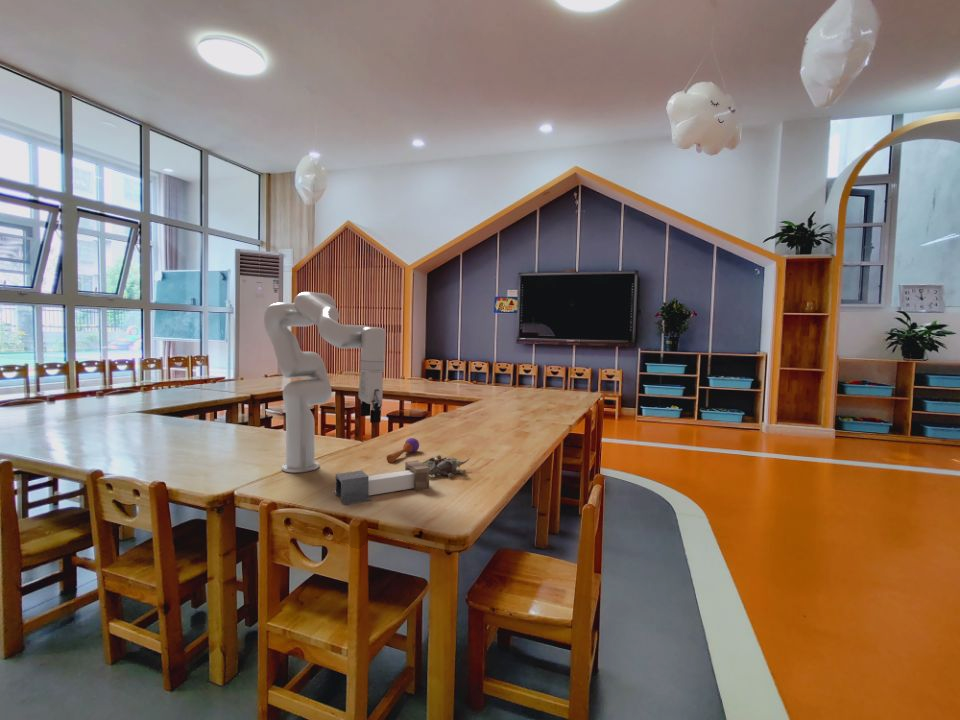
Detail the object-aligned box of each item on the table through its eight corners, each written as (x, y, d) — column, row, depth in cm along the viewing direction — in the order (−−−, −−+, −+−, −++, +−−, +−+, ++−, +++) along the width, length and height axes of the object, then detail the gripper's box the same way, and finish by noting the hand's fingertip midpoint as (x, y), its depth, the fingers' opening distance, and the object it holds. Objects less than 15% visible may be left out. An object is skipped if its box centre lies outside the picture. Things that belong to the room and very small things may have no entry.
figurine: (433, 468, 156) (403, 458, 168) (433, 486, 157) (404, 475, 169) (476, 454, 170) (446, 446, 182) (477, 471, 171) (446, 461, 183)
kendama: (382, 451, 181) (407, 436, 199) (385, 467, 181) (410, 450, 200) (395, 450, 178) (420, 435, 197) (398, 466, 179) (422, 449, 198)
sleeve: (333, 492, 146) (333, 471, 146) (359, 488, 150) (359, 468, 150) (343, 505, 136) (343, 482, 136) (370, 500, 140) (371, 478, 140)
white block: (360, 492, 147) (360, 476, 146) (414, 483, 156) (414, 468, 156) (364, 496, 143) (364, 481, 143) (419, 487, 152) (420, 472, 152)
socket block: (405, 482, 157) (405, 462, 156) (417, 480, 159) (417, 460, 159) (416, 491, 149) (416, 469, 149) (429, 489, 151) (429, 467, 151)
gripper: (352, 362, 156) (350, 414, 157) (369, 369, 141) (367, 426, 143) (374, 362, 160) (372, 412, 161) (393, 369, 145) (391, 424, 147)
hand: (370, 419), depth 152 cm, fingers open, 9 cm apart
